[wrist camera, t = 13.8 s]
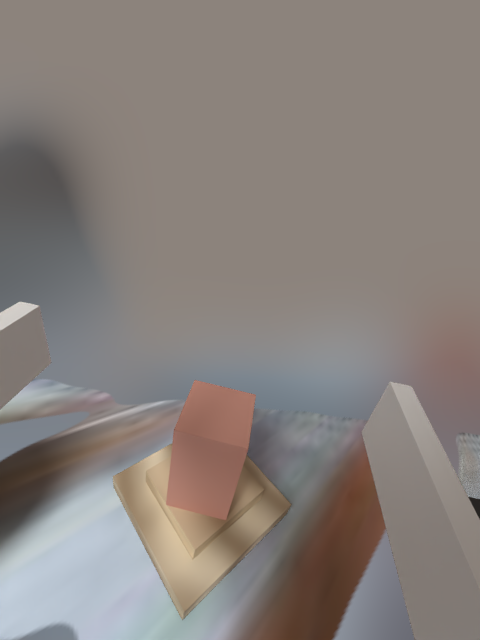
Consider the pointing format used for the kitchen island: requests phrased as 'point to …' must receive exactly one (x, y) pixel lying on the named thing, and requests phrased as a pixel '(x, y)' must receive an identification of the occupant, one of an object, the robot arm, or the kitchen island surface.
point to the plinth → (171, 550)
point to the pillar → (209, 449)
